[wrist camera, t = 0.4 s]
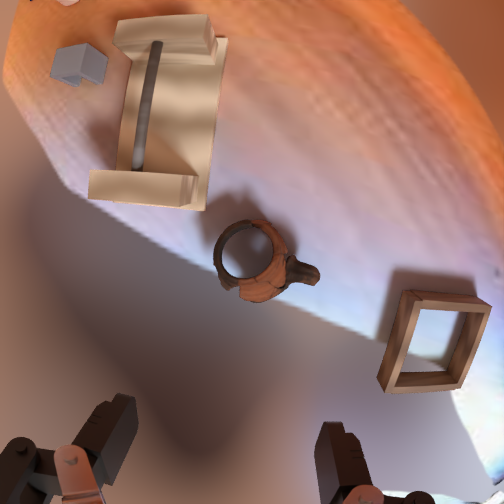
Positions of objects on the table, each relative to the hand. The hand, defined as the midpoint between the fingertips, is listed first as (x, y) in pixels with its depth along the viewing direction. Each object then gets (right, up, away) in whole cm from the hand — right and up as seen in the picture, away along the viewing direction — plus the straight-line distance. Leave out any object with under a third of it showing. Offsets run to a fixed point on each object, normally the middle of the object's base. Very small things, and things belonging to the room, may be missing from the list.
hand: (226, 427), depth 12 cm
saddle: (-21, +32, +22) cm, 45 cm away
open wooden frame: (+28, -6, +29) cm, 40 cm away
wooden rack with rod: (-9, +24, +24) cm, 35 cm away
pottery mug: (+3, +6, +27) cm, 28 cm away
